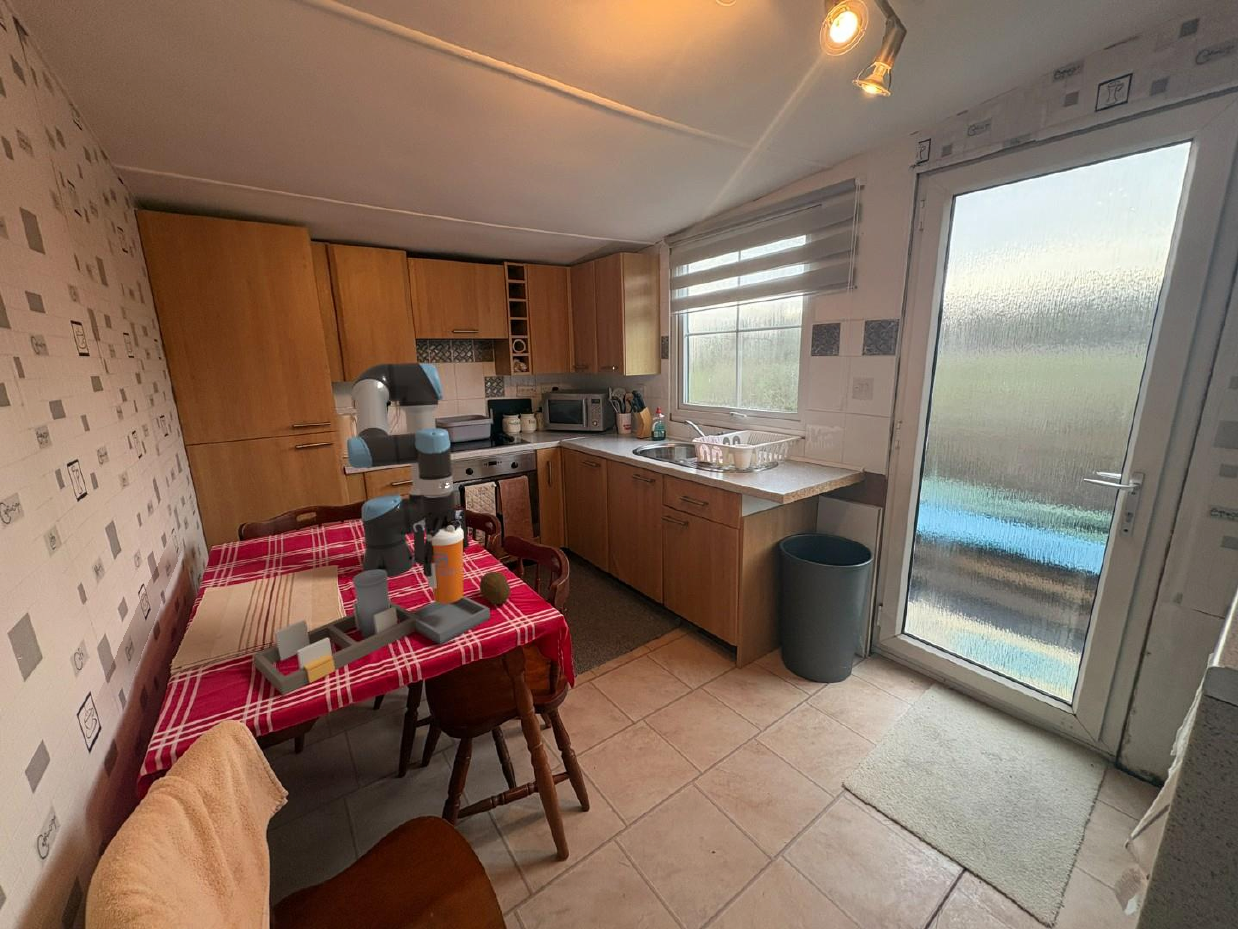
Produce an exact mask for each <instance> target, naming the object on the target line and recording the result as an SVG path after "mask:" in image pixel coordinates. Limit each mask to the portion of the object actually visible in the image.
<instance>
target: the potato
mask: <svg viewBox="0 0 1238 929" xmlns="http://www.w3.org/2000/svg"><path fill="white" fill-rule="evenodd" d="M506 577H507V576H505V575H504V573H503V572H499V571H489V572H487V573H486V574H484V575H483V576H482V577H481V579H480V580H479V581H480V582H479V591H480V594H481V595H482V597H483V598H484V599H485V600H486V601H488V602H489V603H491V604H494V605H495V604H496V605H500V604H503V603H505V602H506V601H507V600H508V599H509V598H510V595H511V587H510V584H509V583H508V578H506Z"/></svg>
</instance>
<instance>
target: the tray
mask: <svg viewBox="0 0 1238 929" xmlns="http://www.w3.org/2000/svg"><path fill="white" fill-rule="evenodd" d="M410 612H411V613H408V614H406V620H408V619H410V618H412V619H414V620H415V619H416V620H415V628H416V631H415V632H417V633H419V634H421V635H423V636H424V637H425V638H427V639H429V640H430V641H432V642H434V643H435V644H438V645H439V646H442V645H444V644H446V643H448V642H450V641H451V639H452V640H454V639H455V638H457V637H459V636H461V635H463V634H465V633H466V632H469V631H470V630H472V629H474V628H476V627H478V626H479V624H480V625H482V624H483V623H486V622H487V621H488V619H489V620H490V619H491V613H490V608H489V607H488V606H486V605H483V604H481V603H479V602H478V601H475V600H473V599H470V598H469V597H466V596H464V595H463V597H462V598H461V599H460V600H458V601H456V602H453V603H446V604H442V603H438V602H436V601H435V600H434V601H433V602H430V603H428V604H426V605H424V606H422V607H420V608H418V609H415V610H413V611H410ZM412 613H413V614H415V615H417V616H419V617H420V620H419V619H418V618H414V616H412V615H410V614H412ZM486 620H487V621H486ZM475 626H476V627H475ZM464 632H465V633H464ZM462 633H463V634H462ZM453 638H454V639H453Z"/></svg>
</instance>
